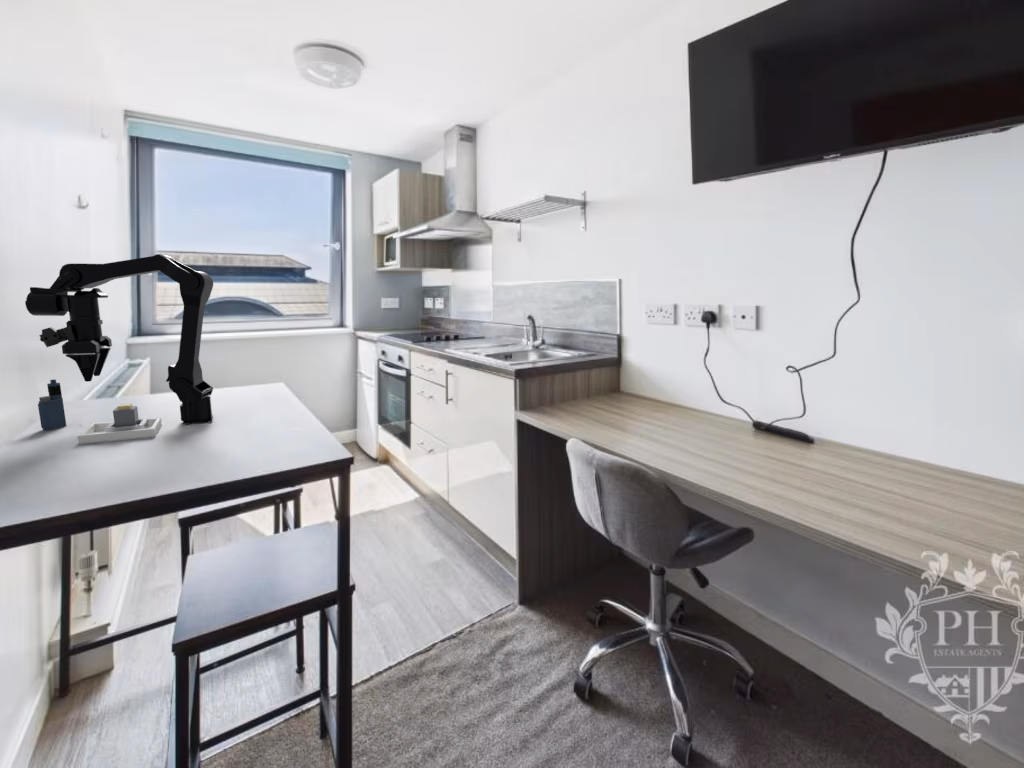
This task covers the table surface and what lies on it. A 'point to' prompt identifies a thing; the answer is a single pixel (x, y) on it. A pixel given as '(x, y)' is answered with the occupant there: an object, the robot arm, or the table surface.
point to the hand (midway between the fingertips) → (92, 378)
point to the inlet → (142, 425)
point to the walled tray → (97, 432)
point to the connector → (125, 415)
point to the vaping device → (52, 408)
